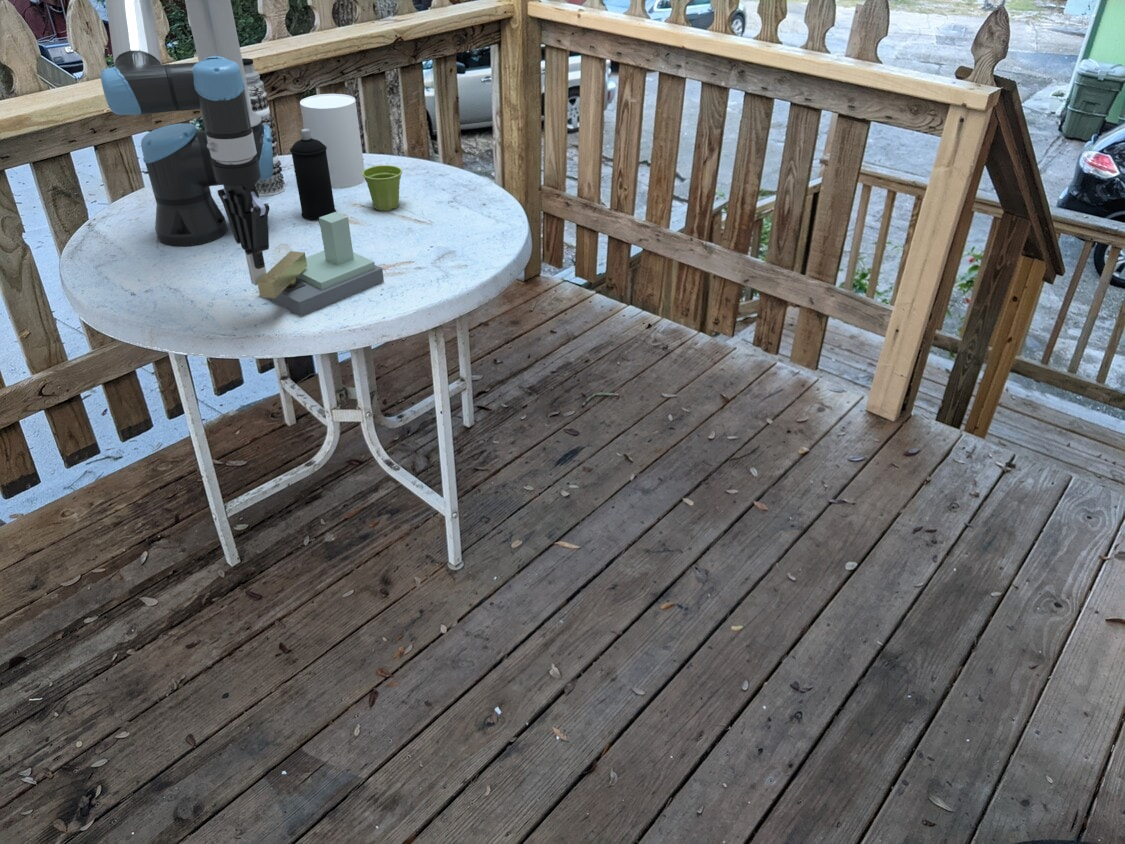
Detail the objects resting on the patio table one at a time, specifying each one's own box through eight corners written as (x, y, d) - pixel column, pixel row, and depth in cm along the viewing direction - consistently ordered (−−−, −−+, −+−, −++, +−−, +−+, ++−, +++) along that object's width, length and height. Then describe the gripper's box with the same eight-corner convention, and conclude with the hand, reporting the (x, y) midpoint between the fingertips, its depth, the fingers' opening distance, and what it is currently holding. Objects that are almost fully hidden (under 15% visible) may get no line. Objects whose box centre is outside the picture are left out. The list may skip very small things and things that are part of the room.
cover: (286, 272, 172) (276, 222, 166) (338, 252, 180) (331, 204, 174) (322, 290, 166) (313, 239, 159) (375, 268, 174) (368, 219, 167)
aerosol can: (338, 218, 202) (325, 133, 191) (302, 222, 200) (287, 136, 189) (335, 206, 209) (322, 123, 197) (300, 209, 207) (285, 126, 195)
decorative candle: (241, 191, 216) (219, 89, 202) (270, 181, 223) (251, 81, 208) (265, 199, 212) (244, 95, 198) (294, 188, 218) (276, 87, 204)
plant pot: (402, 214, 205) (398, 178, 200) (363, 213, 205) (358, 178, 200) (408, 199, 213) (405, 165, 208) (371, 199, 213) (366, 164, 208)
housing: (260, 294, 170) (257, 279, 169) (341, 262, 183) (339, 248, 181) (301, 316, 163) (298, 301, 161) (383, 281, 175) (382, 267, 174)
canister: (369, 170, 230) (359, 93, 218) (360, 188, 219) (350, 108, 207) (319, 170, 230) (306, 93, 218) (307, 188, 219) (294, 108, 207)
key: (262, 305, 160) (257, 282, 157) (294, 272, 171) (290, 251, 168) (277, 306, 159) (272, 283, 157) (308, 274, 170) (304, 252, 168)
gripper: (194, 154, 148) (223, 278, 161) (235, 172, 141) (261, 299, 155) (233, 144, 152) (258, 265, 166) (274, 161, 146) (296, 286, 159)
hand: (259, 281), depth 160 cm, fingers closed
